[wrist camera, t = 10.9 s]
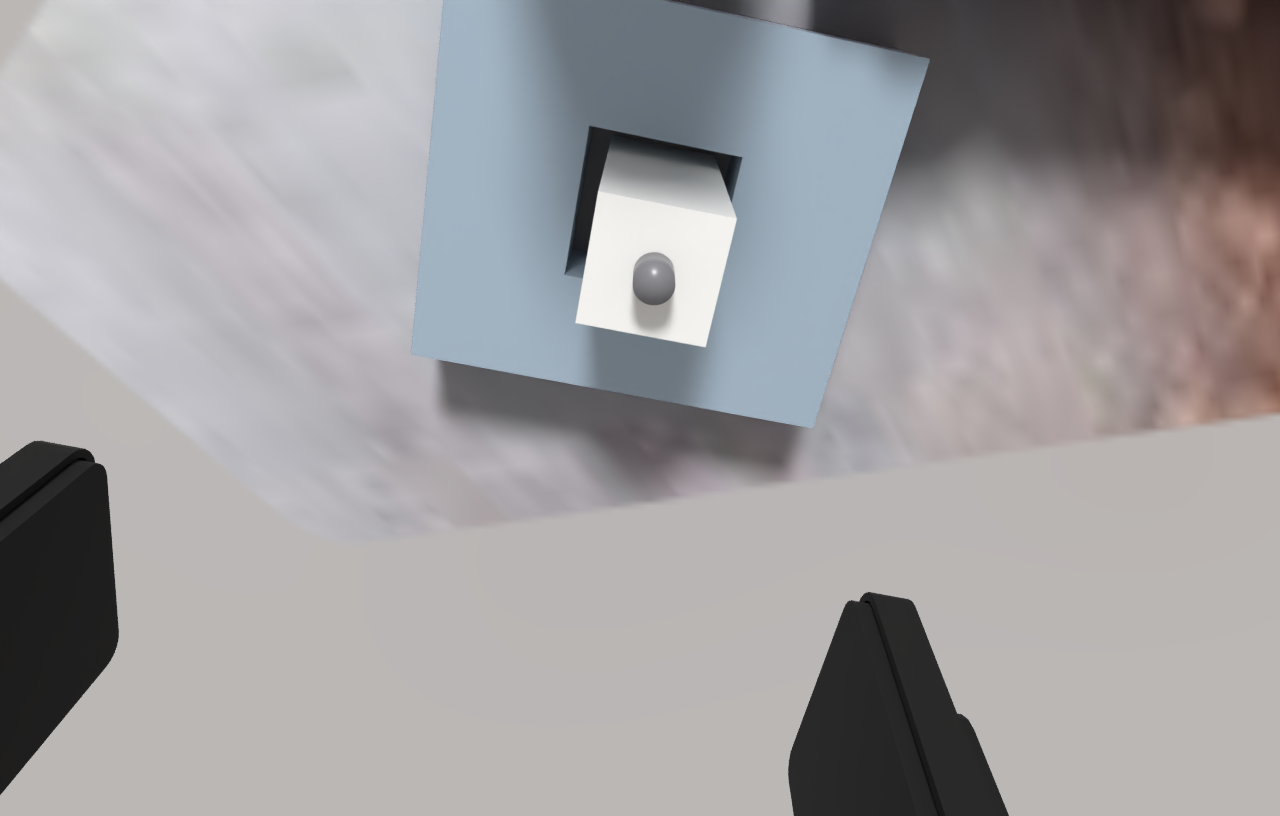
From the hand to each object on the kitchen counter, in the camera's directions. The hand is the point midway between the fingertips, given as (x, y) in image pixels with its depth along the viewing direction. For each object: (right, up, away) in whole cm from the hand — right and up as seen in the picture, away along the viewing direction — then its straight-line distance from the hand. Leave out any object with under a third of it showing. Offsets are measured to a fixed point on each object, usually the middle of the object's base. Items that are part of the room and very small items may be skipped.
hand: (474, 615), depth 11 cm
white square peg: (+3, +11, +24) cm, 26 cm away
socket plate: (+3, +11, +25) cm, 27 cm away
